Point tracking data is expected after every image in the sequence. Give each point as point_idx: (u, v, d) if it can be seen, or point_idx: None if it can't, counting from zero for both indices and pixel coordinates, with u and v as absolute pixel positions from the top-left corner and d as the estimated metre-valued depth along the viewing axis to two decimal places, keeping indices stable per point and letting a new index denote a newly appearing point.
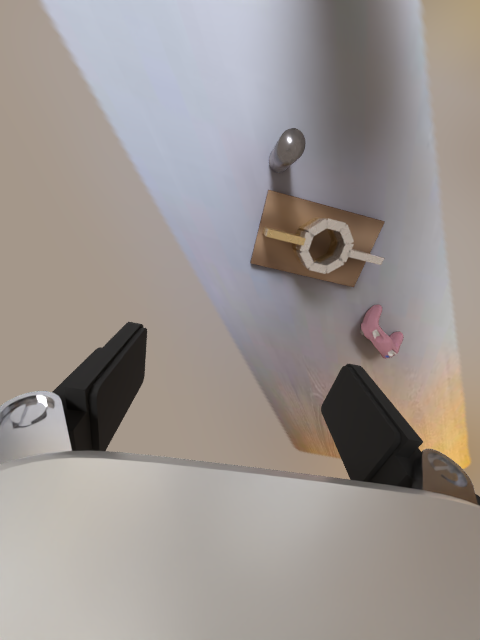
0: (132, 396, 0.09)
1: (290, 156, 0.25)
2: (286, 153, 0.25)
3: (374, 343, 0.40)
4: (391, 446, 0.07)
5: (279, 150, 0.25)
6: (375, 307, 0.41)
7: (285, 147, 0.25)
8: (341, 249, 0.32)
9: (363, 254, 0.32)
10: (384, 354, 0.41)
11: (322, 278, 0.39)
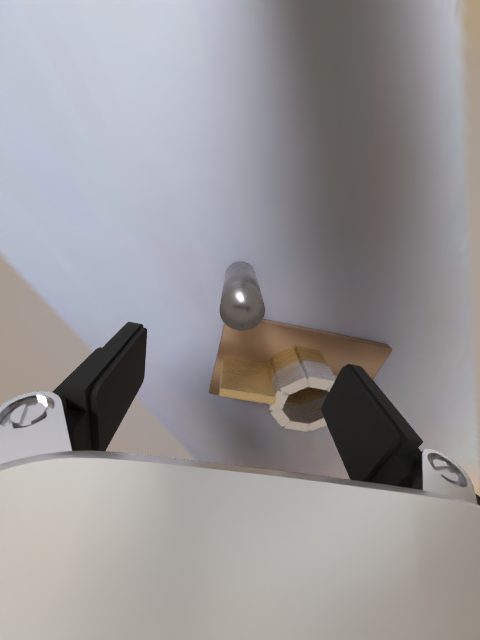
0: (132, 396, 0.09)
1: (241, 324, 0.15)
2: (234, 321, 0.15)
3: None
4: (391, 446, 0.07)
5: (222, 317, 0.15)
6: None
7: (231, 313, 0.15)
8: None
9: None
10: None
11: None
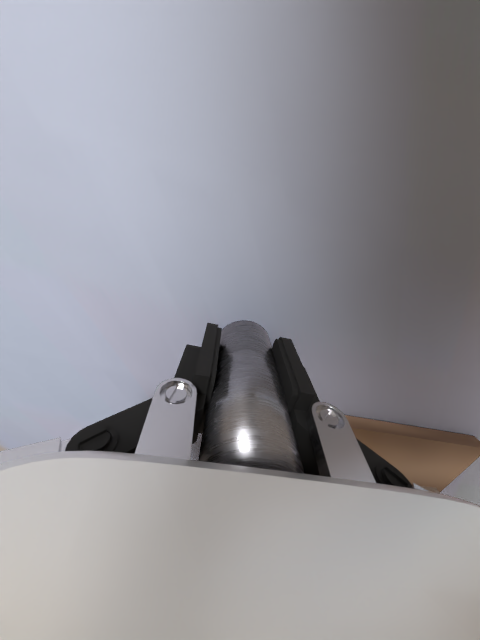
0: None
1: None
2: None
3: None
4: (290, 400, 0.08)
5: None
6: None
7: None
8: None
9: None
10: None
11: None
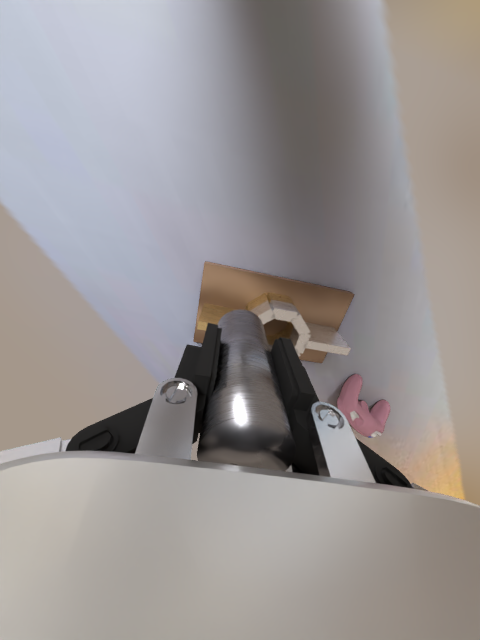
0: None
1: None
2: None
3: (353, 426, 0.33)
4: (290, 400, 0.08)
5: None
6: (354, 378, 0.34)
7: (224, 460, 0.07)
8: (296, 339, 0.25)
9: (324, 345, 0.25)
10: (366, 435, 0.34)
11: None
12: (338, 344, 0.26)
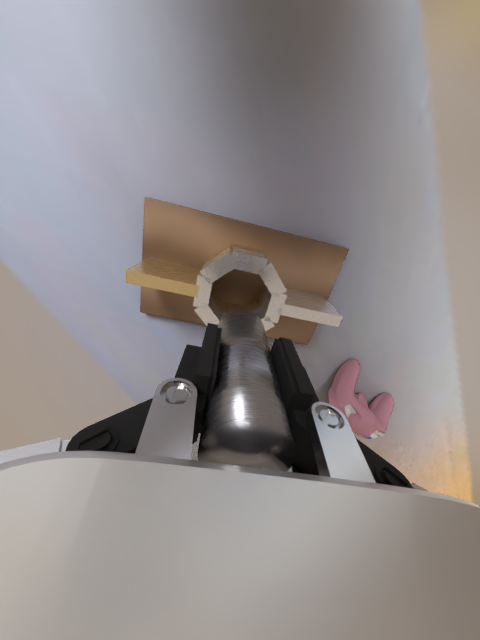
0: None
1: None
2: None
3: None
4: (290, 400, 0.08)
5: None
6: (349, 364, 0.27)
7: (224, 461, 0.07)
8: (268, 302, 0.18)
9: (306, 311, 0.18)
10: (364, 436, 0.27)
11: None
12: (326, 311, 0.19)
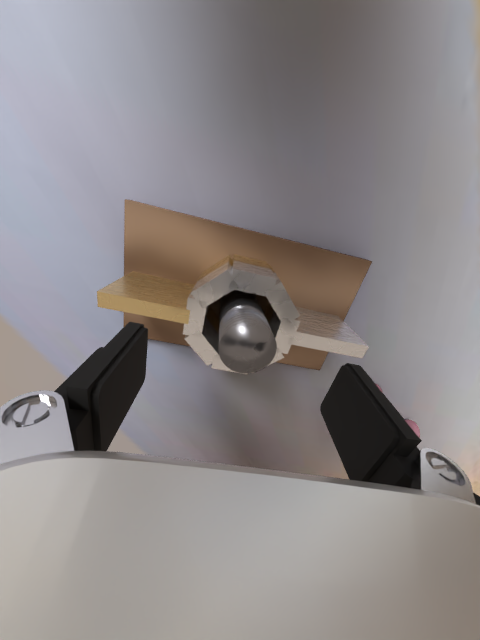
0: (133, 396, 0.09)
1: (246, 366, 0.12)
2: (237, 362, 0.12)
3: None
4: (389, 445, 0.07)
5: (221, 357, 0.12)
6: None
7: (234, 353, 0.11)
8: (276, 328, 0.15)
9: (323, 339, 0.15)
10: None
11: None
12: (347, 339, 0.15)
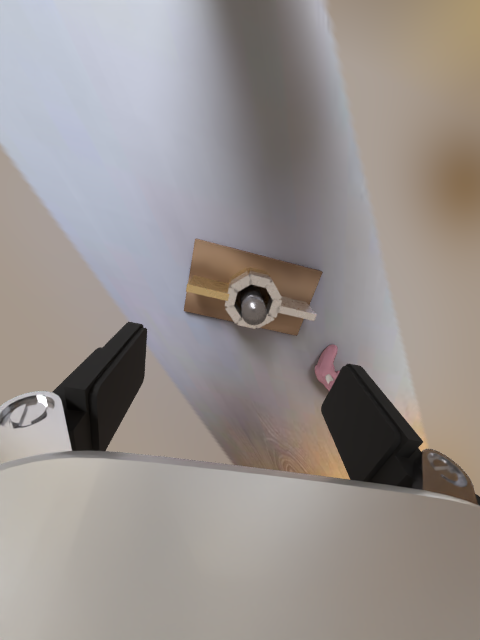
0: (132, 396, 0.09)
1: (253, 321, 0.27)
2: (249, 319, 0.27)
3: (328, 389, 0.37)
4: (391, 446, 0.07)
5: (243, 317, 0.27)
6: (330, 347, 0.38)
7: (248, 315, 0.27)
8: (270, 304, 0.30)
9: (294, 310, 0.30)
10: None
11: (262, 326, 0.36)
12: (306, 311, 0.30)
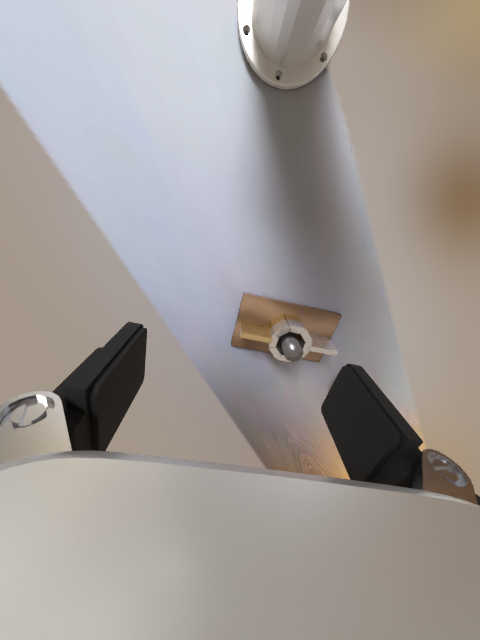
0: (132, 396, 0.09)
1: (292, 359, 0.36)
2: (289, 357, 0.36)
3: None
4: (391, 446, 0.07)
5: (285, 355, 0.36)
6: None
7: (289, 354, 0.36)
8: (303, 344, 0.39)
9: (321, 349, 0.39)
10: None
11: None
12: (330, 348, 0.40)
